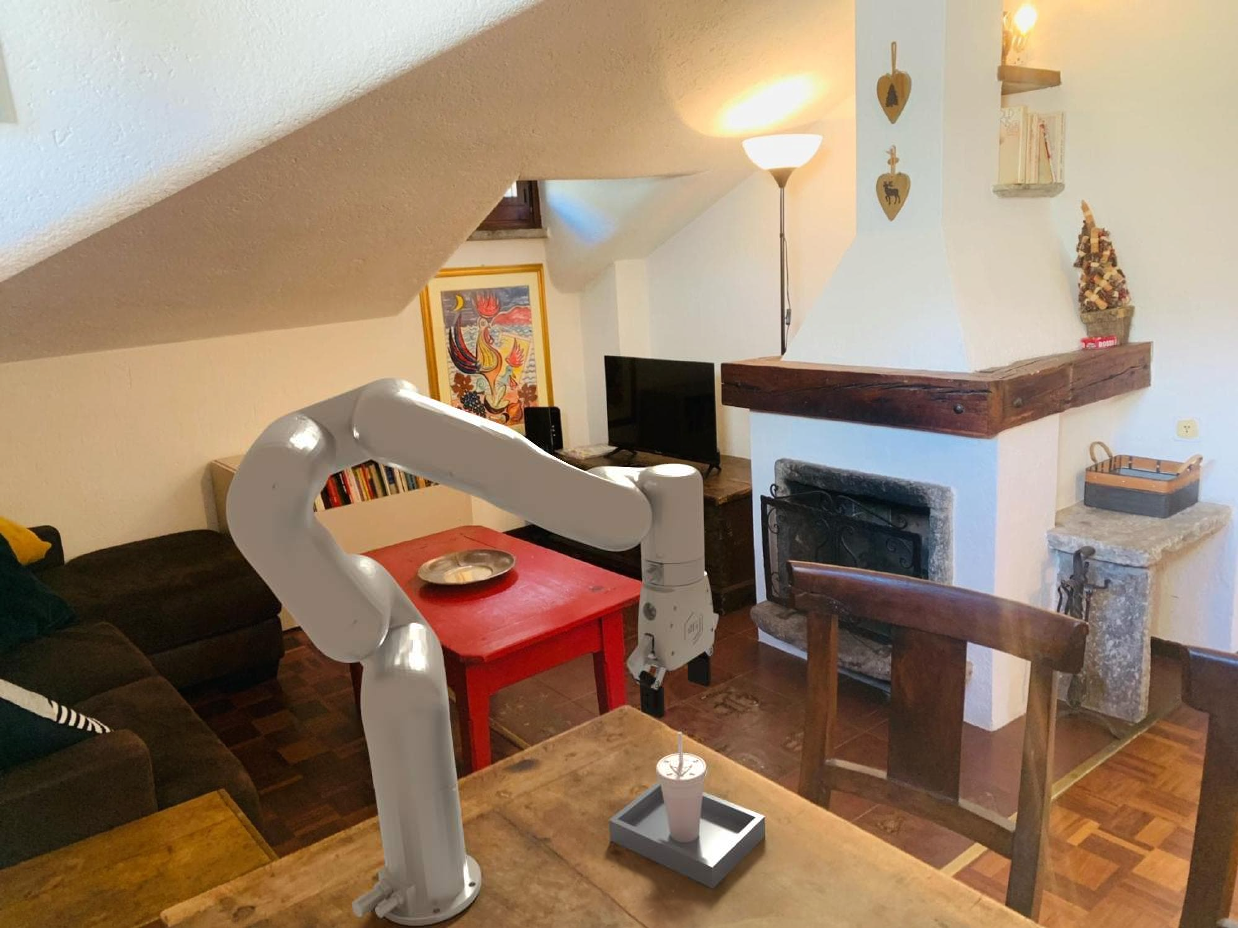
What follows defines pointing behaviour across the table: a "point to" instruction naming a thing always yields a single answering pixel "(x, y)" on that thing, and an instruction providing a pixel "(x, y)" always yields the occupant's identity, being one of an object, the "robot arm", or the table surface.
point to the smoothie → (682, 792)
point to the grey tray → (703, 859)
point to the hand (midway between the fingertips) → (676, 698)
